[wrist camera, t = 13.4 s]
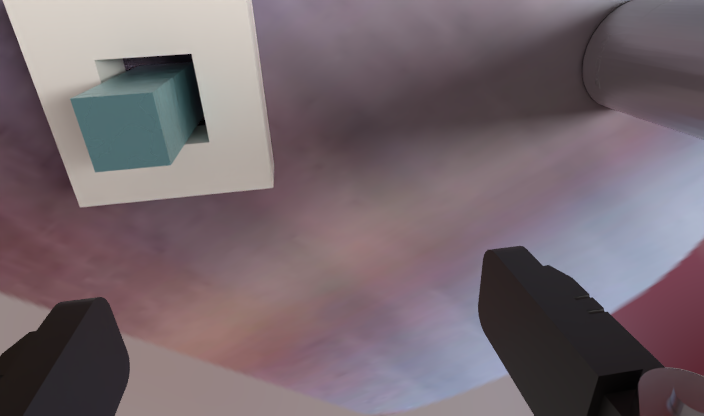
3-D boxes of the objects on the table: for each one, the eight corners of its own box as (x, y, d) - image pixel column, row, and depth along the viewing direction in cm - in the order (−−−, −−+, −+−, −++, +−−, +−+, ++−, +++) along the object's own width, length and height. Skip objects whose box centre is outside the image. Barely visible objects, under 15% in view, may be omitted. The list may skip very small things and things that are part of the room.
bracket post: (194, 61, 33) (152, 92, 22) (205, 113, 34) (170, 165, 24) (139, 65, 32) (69, 98, 21) (153, 117, 34) (95, 172, 23)
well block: (249, -17, 31) (244, -19, 26) (274, 165, 37) (273, 187, 33) (42, -7, 29) (0, -7, 25) (105, 181, 36) (79, 207, 31)
